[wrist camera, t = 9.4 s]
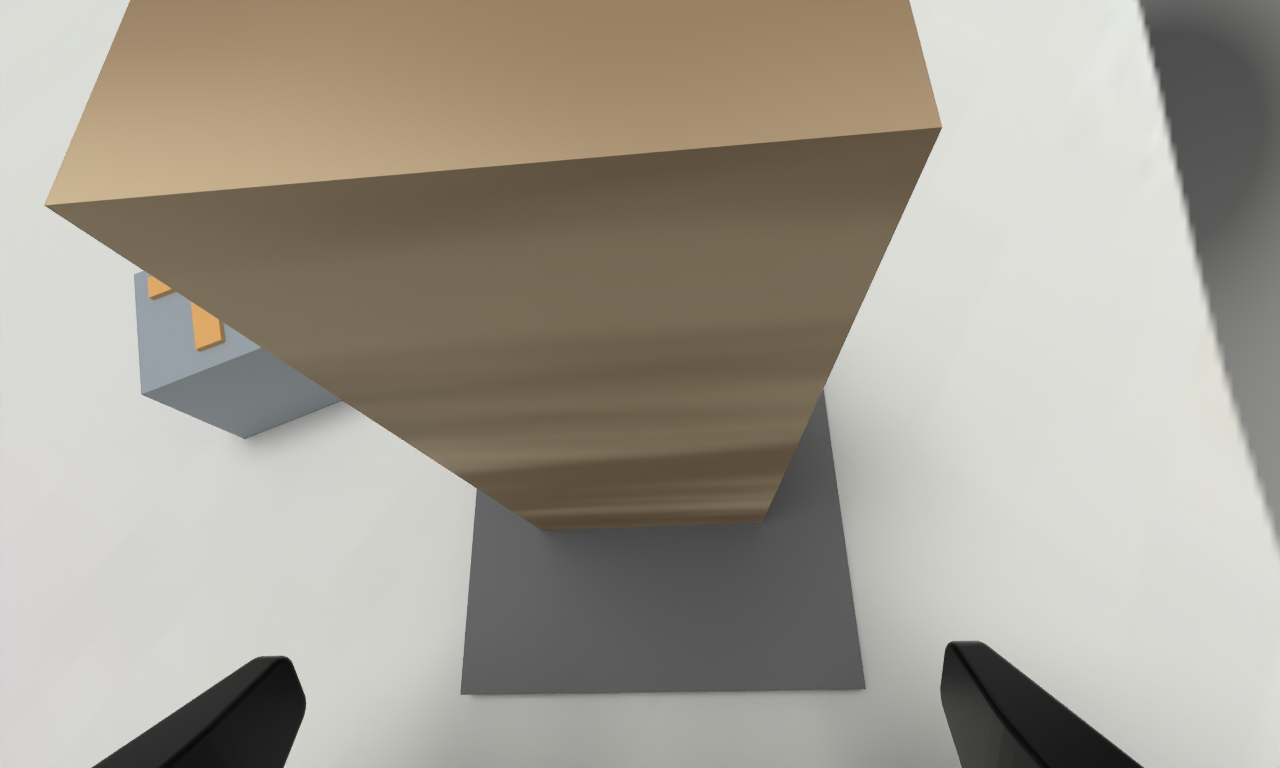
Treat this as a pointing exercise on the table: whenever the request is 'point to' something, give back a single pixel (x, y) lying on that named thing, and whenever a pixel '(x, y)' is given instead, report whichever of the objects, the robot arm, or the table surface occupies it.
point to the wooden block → (525, 220)
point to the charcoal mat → (669, 598)
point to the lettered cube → (214, 367)
